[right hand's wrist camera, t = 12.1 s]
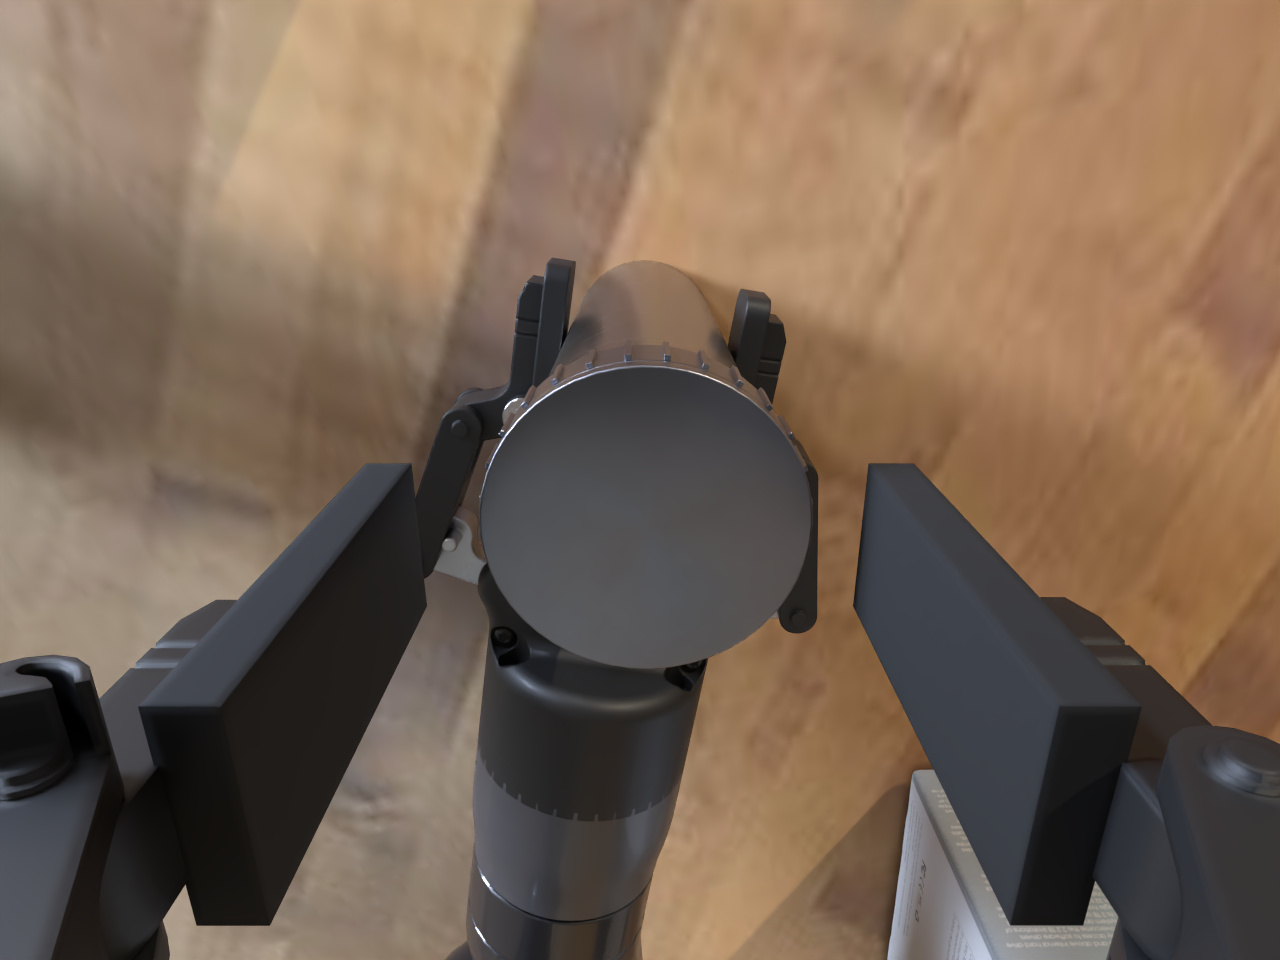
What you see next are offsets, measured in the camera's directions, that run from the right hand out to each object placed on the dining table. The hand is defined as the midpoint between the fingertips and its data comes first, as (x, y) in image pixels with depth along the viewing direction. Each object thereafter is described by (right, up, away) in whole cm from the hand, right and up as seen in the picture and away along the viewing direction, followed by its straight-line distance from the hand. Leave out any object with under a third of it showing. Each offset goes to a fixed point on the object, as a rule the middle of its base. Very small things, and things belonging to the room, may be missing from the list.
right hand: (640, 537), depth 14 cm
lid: (0, 0, 0) cm, 0 cm away
